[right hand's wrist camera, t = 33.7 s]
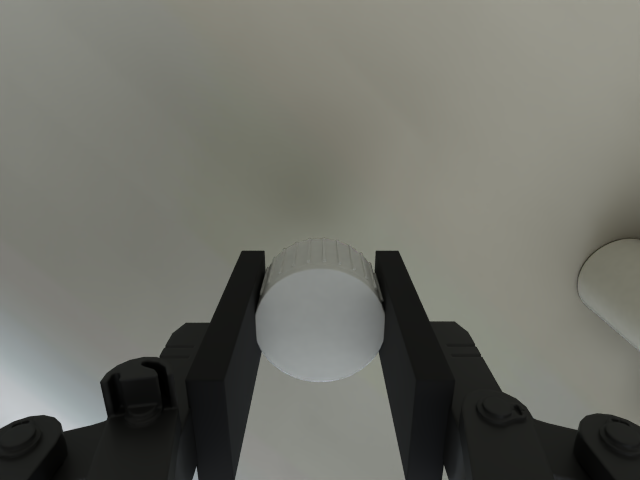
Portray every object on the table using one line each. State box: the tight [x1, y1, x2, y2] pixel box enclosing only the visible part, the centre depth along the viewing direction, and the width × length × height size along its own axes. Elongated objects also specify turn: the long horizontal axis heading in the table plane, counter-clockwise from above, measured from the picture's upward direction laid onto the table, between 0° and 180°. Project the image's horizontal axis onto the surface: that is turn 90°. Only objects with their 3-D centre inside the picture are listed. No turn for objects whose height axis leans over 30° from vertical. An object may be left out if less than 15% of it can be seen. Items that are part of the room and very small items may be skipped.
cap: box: [255, 238, 385, 382], centre depth 14 cm, size 4×4×2 cm
